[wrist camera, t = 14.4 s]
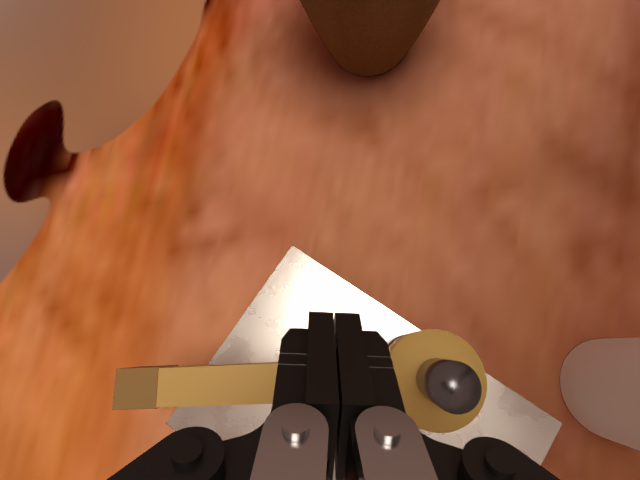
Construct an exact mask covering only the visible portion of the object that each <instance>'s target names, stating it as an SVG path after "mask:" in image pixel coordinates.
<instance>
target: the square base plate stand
mask: <svg viewBox="0 0 640 480" xmlns="http://www.w3.org/2000/svg"><path fill="white" fill-rule="evenodd" d="M309 311H310V312H333V317H334V314H335V312H339V313H359V314H360V318H361V324H362V329H363V331H377V332H378V333H379V334H380V335H381V336H382V337H383V338H384V339H385V341H386V342H387V344H388V347H389V346H390V345H391V344H392V343H393V342H394V341H395V340H396V339H398V338H399V337H401V336H403V335H406V334H409V333H413V332H417V331H421V330H420V329H418V328H417V327H415V326H414V325H412V324H411V323H409V322H408V321H406V320H405V319H403V318H402V317H400V316H399V315H397V314H395V313H394V312H392V311H391V310H389V309H388V308H386V307H385V306H383V305H382V304H380V303H379V302H377V301H376V300H374V299H373V298H371V297H370V296H368V295H367V294H365V293H364V292H362V291H361V290H359V289H357V288H356V287H354V286H353V285H351V284H350V283H348V282H347V281H345V280H344V279H342V278H341V277H339V276H338V275H336V274H335V273H333V272H332V271H330V270H329V269H327V268H326V267H324V266H323V265H321V264H319V263H318V262H316V261H315V260H313V259H312V258H310V257H309V256H307V255H306V254H304V253H303V252H301V251H300V250H298V249H297V248H295V247H294V246H292V247H291V248H290V250H289V251H288V252H287V254H286V255H285V257H284V258H283V260H282V261H281V262H280V264H279V265H278V267H277V268H276V269H275V271H274V272H273V274H272V275H271V276H270V278H269V279H268V281H267V282H266V283H265V285H264V286H263V288H262V289H261V290H260V292H259V293H258V295H257V296H256V298H255V299H254V300H253V302H252V303H251V305H250V306H249V307H248V309H247V310H246V312H245V313H244V314H243V316H242V317H241V319H240V320H239V321H238V323H237V324H236V326H235V327H234V328H233V330H232V331H231V333H230V334H229V336H228V337H227V338H226V340H225V341H224V343H223V344H222V345H221V347H220V348H219V350H218V351H217V352H216V354H215V355H214V357H213V358H212V359H211V361H210V362H209V364H208V365H216V364H241V363H267V362H278V360H279V354H280V345H281V339H282V337H283V336H284V335H285V334H286V332H287V331H288V330H289V329H290V328H305V329H308V320H309ZM486 377H487V393H486V399H485V402H484V405H483V407H482V409H481V411H480V412H479V414H478V415H477V417H476V418H475V419H474V420H473V421H472V422H471V423H469V424H468V425H467V426H465V427H463V428H462V429H459V430H457V431H453V432H449V433H433V432H428V431H425V430H422V429H420V428H419V430H420V432H422V433H423V434H425V435H426V436H428V437H430V438H432V439H434V440H436V441H439V442H442V443H445V444H448V445H451V446H454V447H458V448H461V449H463V448H464V446H465V445H466V443H467V442H468V441H470V440H471V439H473V438H476V437H493V438H497V439H500V440H502V441H505V442H507V443H509V444H511V445H512V446H514V447H515V448H517V449H518V450H520V451H521V452H522V453H524V454H525V455H527V456H528V457H529V458H531V459H532V460H533V461H535V462H536V463H538V464H539V465H540V466H541V464H542V462H543V460H544V458H545V456H546V454H547V452H548V451H549V449H550V447H551V445H552V443H553V441H554V439H555V437H556V435H557V433H558V431H559V429H560V427H561V425H562V423H561V422H560V421H558V420H557V419H555V418H554V417H552V416H551V415H549V414H548V413H546V412H545V411H543V410H541V409H540V408H538V407H537V406H535V405H534V404H532V403H531V402H529V401H528V400H526V399H525V398H523V397H522V396H520V395H519V394H517V393H516V392H514V391H513V390H511V389H510V388H508V387H506V386H505V385H503V384H502V383H500V382H499V381H497V380H496V379H494V378H493V377H491V376H490V375H488V374H487V373H486ZM416 382H417V386H418V388H419V390H420V392H421V393H422V394H423V395H424V396H425V397H426V398H427V399H429V400H430V401H431V402H433V403H434V404H436V405H437V406H438V407H440V408H441V409H443V410H444V411H446V412H448V413H451V414H457V415H460V414H465V413H468V412H470V411H471V410H473V409H474V408H475V407H476V406H477V404H478V403H479V401H480V398H481V394H482V387H481V382H480V379H479V377H478V375H477V374H476V372H475V371H474V370H473V369H472V368H471V367H470V366H468V365H467V364H465V363H463V362H460V361H454V360H447V359H440V358H432V359H429V360H426V361H425V362H423V363H422V364H421V365H420V367H419V369H418V371H417V375H416ZM271 409H272V404H251V405H220V406H188V407H177V409H176V410H175V412H174V413H173V414H172V416H171V417H170V419H169V420H168V421H167V423H166V424H168V425H169V426H170V427H171V428H172V429H173V430H175V431H178V430H180V429H183V428H187V427H195V426H198V427H205V428H209V429H211V430H213V431H215V432H216V433H217V434H218V435H219V436H220V437H221V439H222V440H223V441H224V440H227V439H231V438H235V437H239V436H242V435H245V434H248V433H250V432H252V431H254V430H255V429H257V428H258V427H260V426H261V425H262V424H263V423H264V422H265V420H266V418H267V416H268V415H269V414H270V412H271ZM333 480H336V479H335V460H334V471H333Z"/></svg>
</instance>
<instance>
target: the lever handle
mask: <svg viewBox="0 0 640 480" xmlns="http://www.w3.org/2000/svg"><path fill="white" fill-rule="evenodd" d="M389 351H390V355H391V359H392V362H393V366H394V367H393V368H394V370H395V374H396V377H397V381H398V385H399V389H400V393H401V396H402V400H403V404H404V408H405V411H406V414H407V415H408V416H409V417H411V418H412V419H413V421H414V422H415V423H416V425H417V426H418V428H420V429H422V430H425V431H428V432H433V433H449V432H453V431H457V430H459V429H462V428H463V427H465V426H467V425H468V424H469V423H471V422H472V421H473V420H474V419H475V418H476V417H477V415H478V414H479V412H480V411H481V409H482V407H483V405H484V402H485V399H486V393H487V377H486V372H485V369H484V366H483V363H482V361H481V359H480V357H479V356H478V354H477V353H476V351H475V350H474V349H473V348H472V346H470V345H469V344H468V343H467V342H466V341H465V340H464V339H462V338H461V337H459V336H457V335H456V334H453V333H451V332H448V331H445V330H439V329H426V330H421V331H417V332H413V333H409V334H406V335H403V336H401V337H399V338H398V339H396V340H395V341H394V342H393V343H392V344H391V345H390V346H389ZM432 358H440V359H447V360H454V361H460V362H463V363H465V364H467V365H468V366H470V367H471V368H472V369H473V370H474V371H475V372H476V374H477V375H478V377H479V379H480V382H481V387H482V394H481V398H480V401H479V403H478V404H477V406H476V407H475V408H474V409H473V410H471V411H470V412H468V413H465V414H460V415H457V414H451V413H448V412H446V411H444V410H443V409H441V408H440V407H438V406H437V405H436V404H434V403H433V402H431V401H430V400H429V399H427V398H426V397H425V396H424V395H423V394H422V393H421V392H420V390H419V388H418V386H417V382H416V375H417V371H418V369H419V367H420V365H421V364H422V363H423V362H425V361H426V360H429V359H432ZM277 367H278V362H267V363H241V364H216V365H191V366H178V365H168V366H143V367H131V368H120V369H116V376H115V387H114V397H113V408H112V410H129V409H156V408H159V407H188V406H220V405H251V404H272V403H273V396H274V388H275V381H276V374H277Z"/></svg>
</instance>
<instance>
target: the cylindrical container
mask: <svg viewBox="0 0 640 480" xmlns="http://www.w3.org/2000/svg"><path fill="white" fill-rule="evenodd" d="M560 388H561V392H562V397H563V399H564V401H565V404H566V406H567V408H568V409H569V411H570V412H571V414H572V415H573V416H574V418H575V419H576V420H577V421H578V422H579V423H580V424H581V425H582V426H584V427H585V428H586V429H588V430H589V431H590V432H592V433H594V434H596V435H598V436H600V437H603V438H606V439H609V440H611V441H614V442H617V443H619V444H622V445H625V446H628V447H630V448H633V449H636V450H639V451H640V338H610V339H593V340H589V341H586V342H583V343H581V344H580V345H578V346H576V347H575V348H574V349H573V350H572V351H571V352H570V353H569V354H568V355H567V357H566V358H565V360H564V362H563V365H562V368H561V373H560Z"/></svg>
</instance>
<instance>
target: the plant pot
mask: <svg viewBox="0 0 640 480" xmlns="http://www.w3.org/2000/svg"><path fill="white" fill-rule="evenodd" d="M300 1H301V3H302V5H303V7H304V9H305V11H306V13H307V15H308V17H309V19H310V21H311V22H312V24H313V26H314V28H315V29H316V31H317V33H318V34H319V36H320V38H321V39H322V41H323V43H324V44H325V46H326V47H327V49H328V50H329V52H330V53H331V54H332V56H333V57H334V59H335V60H336V61H337V63H338V64H339V65H340V66H341V67H342V68H343V69H345V70H346V71H348V72H350V73H353V74H356V75H361V76H375V75H379V74H382V73H385V72H387V71H389V70H390V69H392V68H393V67H395V66H396V65H397V64H398V63H399V62H400V61H401V59H402V58H403V57H404V55H405V54H406V53H407V51H408V50H409V49H410V47H411V46H412V45H413V43H414V42H415V40H416V39H417V37H418V36H419V34H420V33H421V31H422V30H423V28H424V27H425V25H426V23H427V22H428V20H429V18H430V17H431V15H432V13H433V12H434V10H435V8H436V6H437V5H438V3H439V1H440V0H300Z"/></svg>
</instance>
